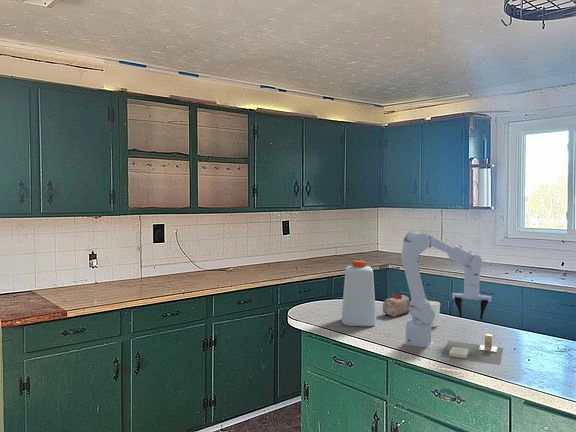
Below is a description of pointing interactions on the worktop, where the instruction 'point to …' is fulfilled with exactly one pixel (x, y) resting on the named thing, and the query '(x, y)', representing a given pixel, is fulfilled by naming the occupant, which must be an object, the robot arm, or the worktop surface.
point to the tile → (459, 352)
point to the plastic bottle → (359, 295)
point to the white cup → (436, 309)
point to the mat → (474, 353)
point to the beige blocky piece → (488, 345)
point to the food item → (396, 305)
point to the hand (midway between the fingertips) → (471, 317)
